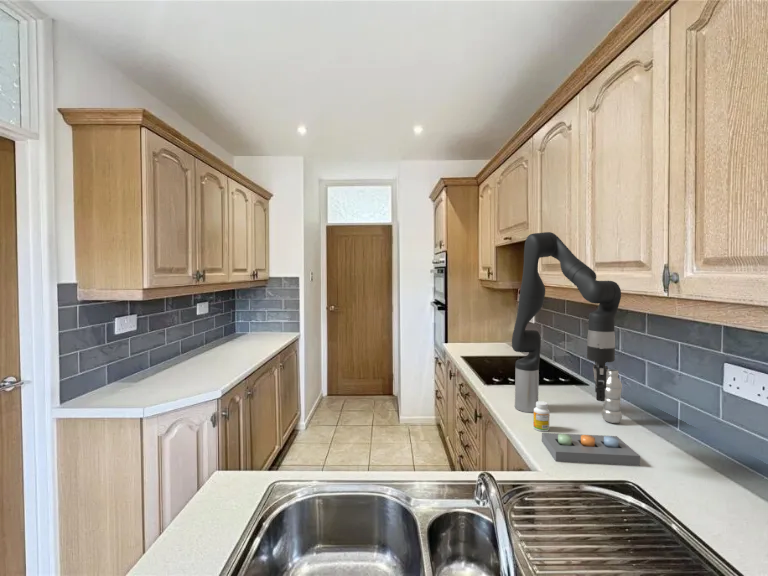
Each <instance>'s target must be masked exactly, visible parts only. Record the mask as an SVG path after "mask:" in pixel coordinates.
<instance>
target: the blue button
mask: <svg viewBox="0 0 768 576" xmlns="http://www.w3.org/2000/svg"><path fill="white" fill-rule="evenodd" d="M603 436H604V445H605V446H606V447H607V448H618V442H619V440H618V438H619V437H618V438H616V437H613V436H614V435H603Z"/></svg>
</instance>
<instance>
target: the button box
mask: <svg viewBox="0 0 768 576" xmlns="http://www.w3.org/2000/svg"><path fill="white" fill-rule="evenodd" d="M558 434H560V433H557V432H556V433H555V432H554V433H553V432H551V433H550V432H541V442H542V444H543V445H544V447H545V448H546V450H547V451H548V452H549V454H550V455H551V457H552V459H553V460H554V461H555V462H558V463H559V462H561V463H579V464H598V465H616V466H635V467H636V466H637V467H641V466H640V465H641V455H640V454H639V453H637V452H636V451H635V450H634V449H633V448H632V447H630V446H629V445H628V444H627V443H626V442H625V441H623V440H622V439H621V438H620V437H618V435H612V436H613V437H616V438H618V440H619V442H618V448H608V447H606V446H605V445H604V436H605V435H599V434H598V435H597V434H589V435H590V436H593V437H594V438H595V447H585V446H582V445H581V435H582V434H575V433H566V434H567V435H570V436H571V437H572V446H564V445H560V444H558Z"/></svg>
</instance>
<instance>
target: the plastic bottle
mask: <svg viewBox="0 0 768 576" xmlns="http://www.w3.org/2000/svg"><path fill="white" fill-rule="evenodd" d="M603 384H604V383H603ZM606 386H607V388H606V389H605V401H603V407H602V410H601V416H602V417H601V418H602V419H603V420H604V421H605V422H607V423H611V424H612V423H613V424H619V423H621V421H622V420H623V416H622V415H623V413H622V411H621V410H622V409H621V408H622V407H621V396H622V390H623V384H622V381H621V380H620V378H619V370H617V369H611V368H608V374H607V382H606Z"/></svg>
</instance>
